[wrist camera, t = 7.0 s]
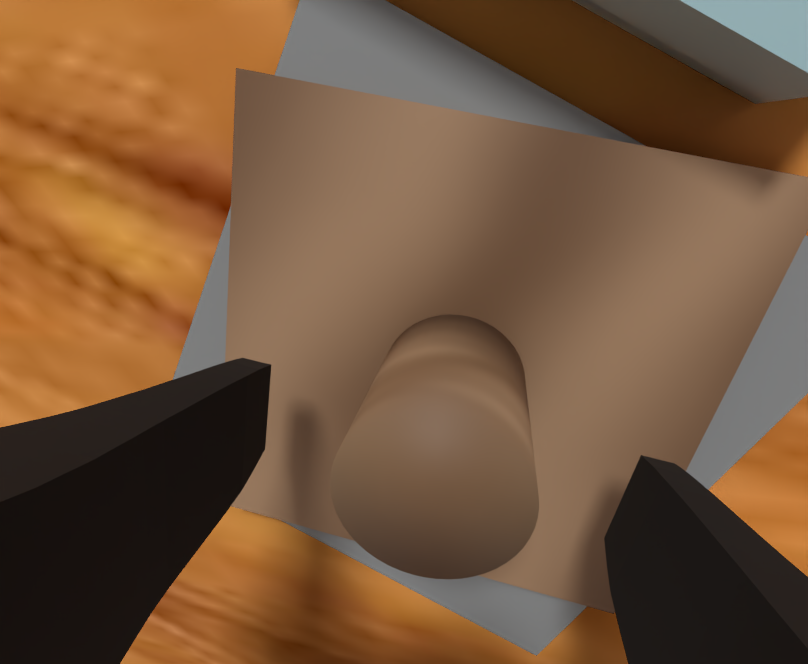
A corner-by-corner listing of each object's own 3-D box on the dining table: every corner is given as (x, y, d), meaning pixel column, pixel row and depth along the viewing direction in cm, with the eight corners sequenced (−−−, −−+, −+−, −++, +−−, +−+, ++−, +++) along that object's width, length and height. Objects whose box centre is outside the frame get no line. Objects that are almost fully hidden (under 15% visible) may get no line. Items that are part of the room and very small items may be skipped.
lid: (812, 179, 9) (1088, 215, 5) (609, 594, 13) (660, 805, 9) (250, 71, 10) (72, 23, 6) (230, 489, 14) (119, 634, 10)
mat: (895, 287, 10) (910, 294, 9) (535, 643, 15) (536, 655, 15) (320, -34, 10) (313, -40, 9) (157, 442, 15) (149, 450, 14)
